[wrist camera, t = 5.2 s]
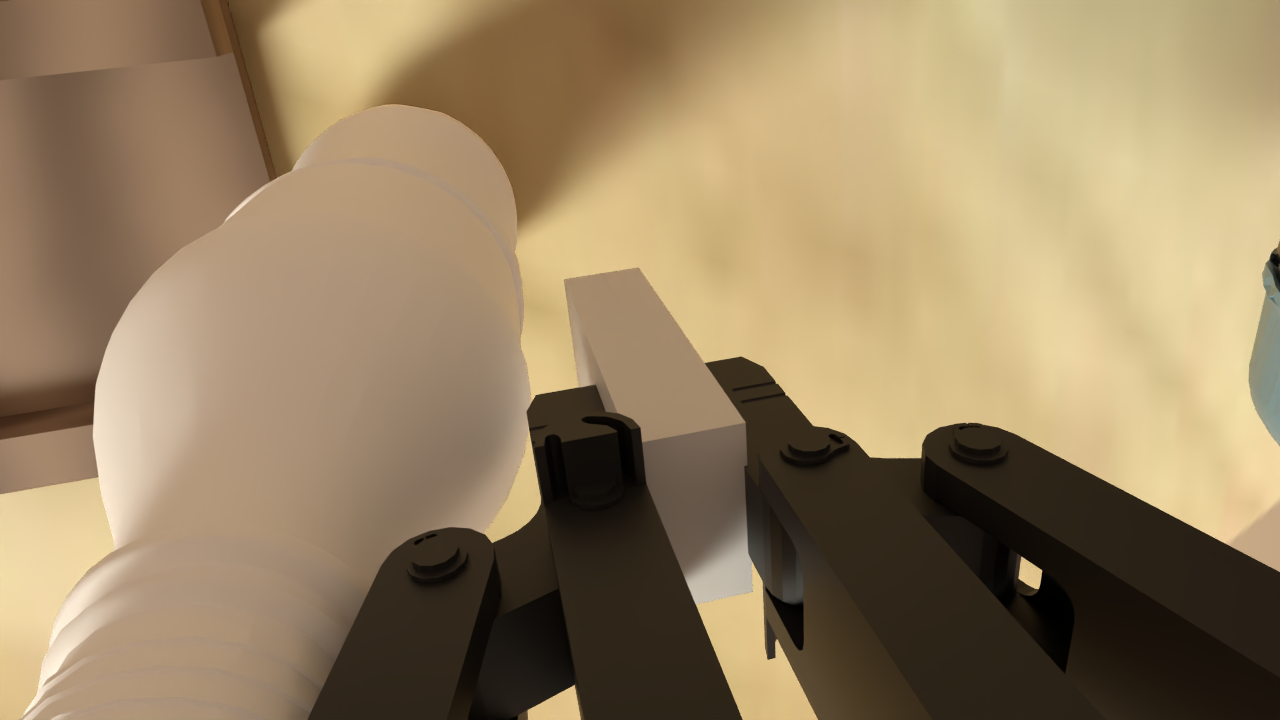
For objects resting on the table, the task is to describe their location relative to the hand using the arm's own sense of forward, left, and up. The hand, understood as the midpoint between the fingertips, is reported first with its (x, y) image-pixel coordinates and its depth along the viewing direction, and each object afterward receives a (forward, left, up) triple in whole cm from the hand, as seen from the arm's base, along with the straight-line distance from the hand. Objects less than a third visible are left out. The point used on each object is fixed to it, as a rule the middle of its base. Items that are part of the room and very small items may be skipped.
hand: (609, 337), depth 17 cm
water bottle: (+5, 0, -16) cm, 16 cm away
